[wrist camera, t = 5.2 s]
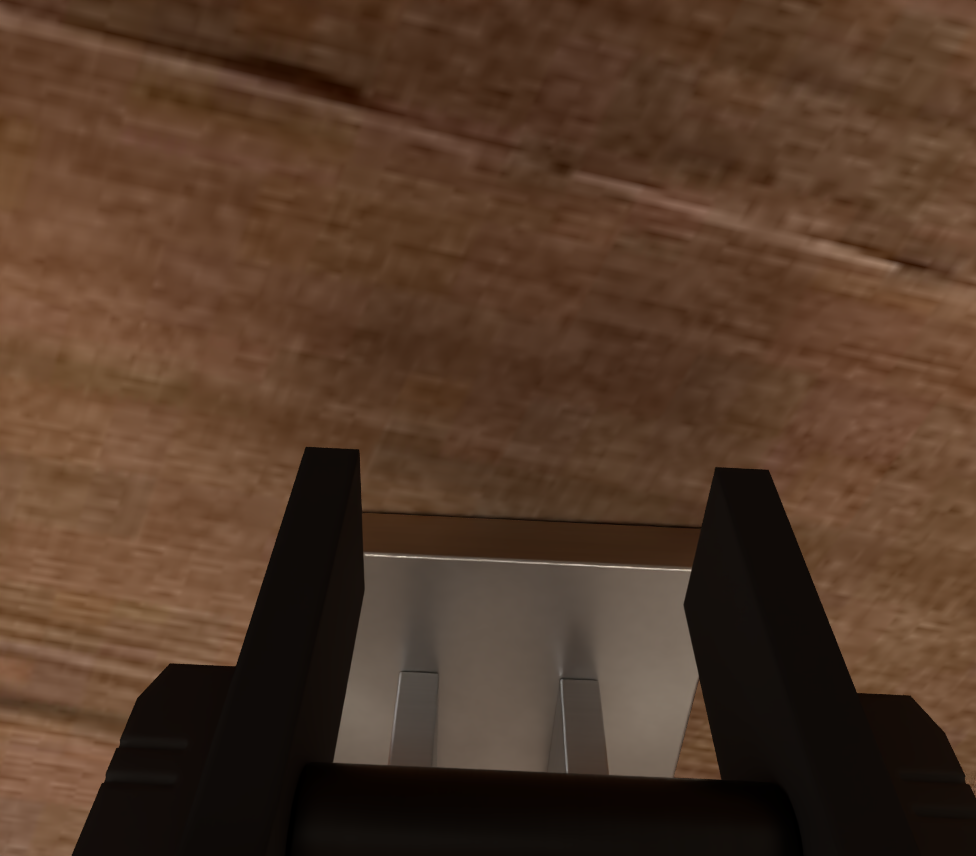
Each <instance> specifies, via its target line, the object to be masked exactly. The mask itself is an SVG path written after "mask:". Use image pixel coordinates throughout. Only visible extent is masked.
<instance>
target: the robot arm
mask: <svg viewBox="0 0 976 856" xmlns="http://www.w3.org/2000/svg"><path fill="white" fill-rule="evenodd" d="M364 591H365V582H364V556H363V530H362V504H361V478H360V452H359V449H339V448H318V447H306V448H305V451H304V454H303V457H302V460H301V463H300V466H299V470H298V473H297V476H296V479H295V482H294V485H293V488H292V492H291V495H290V498H289V501H288V504H287V507H286V511H285V514H284V517H283V520H282V523H281V526H280V529H279V533H278V536H277V539H276V542H275V545H274V548H273V551H272V555H271V558H270V561H269V564H268V567H267V570H266V573H265V577H264V580H263V583H262V586H261V589H260V592H259V595H258V599H257V602H256V605H255V608H254V611H253V614H252V618H251V621H250V624H249V627H248V630H247V633H246V636H245V640H244V643H243V646H242V649H241V652H240V655H239V658H238V662H237V665H236V666H214V665H193V664H171V663H170V664H169V665H168V666H167V667H166V668H165V669H164V670H163V671H162V673H161V674H160V675H159V676H158V677H157V678H156V679H155V680H154V681H153V682H152V683H151V684H150V685H149V686H148V687H147V689H146V690H145V691H144V692H143V693H142V694H141V695H140V696H139V697H138V698H137V700H136V703H135V705H134V707H133V710H132V712H131V715H130V717H129V719H128V722H127V724H126V727H125V729H124V731H123V734H122V736H121V739H120V746H119V748H116V751H115V753H114V755H113V758H112V760H111V763H110V765H109V767H108V770H107V772H106V779H105V782H104V783H102V784H101V787H100V789H99V791H98V794H97V796H96V798H95V801H94V803H93V806H92V808H91V810H90V813H89V815H88V818H87V820H86V822H85V825H84V827H83V830H82V832H81V834H80V837H79V839H78V842H77V844H76V846H75V849H74V851H73V854H72V856H286V848H287V839H288V831H289V825H290V818H291V812H292V807H293V802H294V798H295V793H296V789H297V786H298V782H299V779H300V777H301V774H302V772H303V770H304V768H305V766H306V765H307V764H308V763H311V762H331V763H333V760H334V755H335V750H336V744H337V739H338V733H339V728H340V722H341V717H342V711H343V706H344V700H345V695H346V690H347V684H348V679H349V673H350V668H351V662H352V657H353V651H354V646H355V641H356V635H357V630H358V624H359V619H360V613H361V608H362V602H363V597H364ZM683 606H684V611H685V616H686V620H687V625H688V629H689V634H690V638H691V643H692V647H693V652H694V656H695V661H696V665H697V670H698V675H699V679H700V684H701V688H702V693H703V697H704V702H705V706H706V711H707V715H708V720H709V725H710V729H711V734H712V738H713V743H714V747H715V752H716V756H717V761H718V765H719V770H720V774H721V779H722V780H737V781H760V782H772V783H774V784H776V785H778V786H779V787H780V788H781V789H782V790H783V792H784V793H785V795H786V796H787V798H788V800H789V803H790V805H791V807H792V810H793V813H794V816H795V819H796V823H797V827H798V831H799V835H800V840H801V846H802V852H803V856H976V798H975V795H974V793H973V791H972V789H971V787H970V785H969V784H966V783H965V774H964V772H963V770H962V768H961V766H960V764H959V762H958V760H957V757H956V755H955V753H954V751H953V749H952V747H951V745H950V743H949V741H948V738H947V736H946V734H945V733H944V732H943V731H942V729H941V728H940V727H939V726H938V725H937V724H936V723H935V722H934V721H933V720H932V719H931V718H930V717H929V715H928V714H927V713H926V712H925V711H924V710H923V709H922V708H921V707H920V706H919V705H918V704H917V702H916V701H915V700H914V699H913V698H912V697H911V696H907V695H886V694H865V693H857V692H856V689H855V687H854V684H853V682H852V679H851V677H850V674H849V672H848V669H847V667H846V664H845V662H844V659H843V657H842V654H841V652H840V649H839V646H838V644H837V641H836V639H835V636H834V634H833V631H832V629H831V626H830V624H829V621H828V619H827V616H826V614H825V611H824V609H823V606H822V603H821V601H820V598H819V596H818V593H817V591H816V588H815V586H814V583H813V581H812V578H811V576H810V573H809V571H808V568H807V566H806V563H805V560H804V558H803V555H802V553H801V550H800V548H799V545H798V543H797V540H796V538H795V535H794V533H793V530H792V528H791V525H790V523H789V520H788V517H787V515H786V512H785V510H784V507H783V505H782V502H781V500H780V497H779V495H778V492H777V490H776V487H775V485H774V482H773V480H772V477H771V474H770V472H769V470H762V469H742V468H722V467H715V472H714V476H713V480H712V484H711V489H710V493H709V497H708V502H707V506H706V510H705V514H704V519H703V523H702V527H701V531H700V536H699V540H698V544H697V548H696V553H695V557H694V561H693V565H692V570H691V574H690V578H689V582H688V587H687V591H686V595H685V599H684V604H683Z"/></svg>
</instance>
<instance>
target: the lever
mask: <svg viewBox="0 0 976 856" xmlns="http://www.w3.org/2000/svg"><path fill="white" fill-rule="evenodd" d="M286 856H803V852H802V846H801V840H800V835H799V831H798V827H797V823H796V819H795V816H794V813H793V810H792V807H791V805H790V803H789V800H788V798H787V796H786V795H785V793H784V792H783V790H782V789H781V788H780V787H779V786H778V785H776V784H774V783H772V782H760V781H737V780H714V779H692V778H669V777H647V776H624V775H601V774H579V773H556V772H534V771H511V770H489V769H466V768H443V767H421V766H398V765H376V764H353V763H331V762H311V763H308V764H307V765H306V766H305V768H304V770H303V772H302V774H301V777H300V779H299V782H298V786H297V789H296V793H295V798H294V802H293V807H292V812H291V818H290V825H289V831H288V839H287V848H286Z"/></svg>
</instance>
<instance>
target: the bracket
mask: <svg viewBox="0 0 976 856" xmlns="http://www.w3.org/2000/svg"><path fill="white" fill-rule="evenodd" d="M362 530H363V556H364V582H365V591H364V597H363V602H362V608H361V613H360V619H359V624H358V630H357V635H356V641H355V646H354V651H353V657H352V662H351V668H350V673H349V679H348V684H347V690H346V695H345V700H344V706H343V711H342V717H341V722H340V728H339V733H338V739H337V744H336V750H335V755H334V760H333V763H353V764H376V765H398V766H421V767H443V768H466V769H489V770H511V771H534V772H556V773H579V774H601V775H624V776H647V777H669V778H674V774H675V770H676V766H677V762H678V759H679V755H680V751H681V747H682V743H683V739H684V735H685V731H686V728H687V724H688V720H689V716H690V712H691V708H692V704H693V701H694V697H695V693H696V689H697V685H698V681H699V675H698V670H697V665H696V661H695V656H694V652H693V647H692V643H691V638H690V634H689V629H688V625H687V620H686V616H685V611H684V606H683V604H684V599H685V595H686V591H687V587H688V582H689V578H690V574H691V570H692V565H693V561H694V557H695V553H696V548H697V544H698V540H699V536H700V531H701V529H695V528H674V527H653V526H632V525H611V524H590V523H569V522H548V521H528V520H507V519H486V518H465V517H444V516H423V515H402V514H381V513H362Z"/></svg>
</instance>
